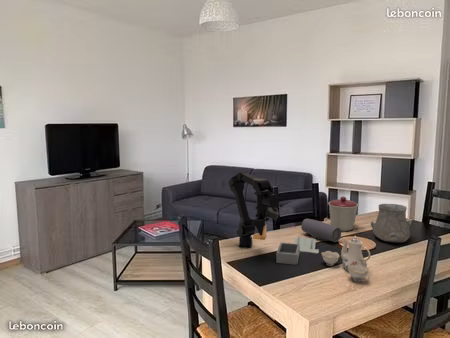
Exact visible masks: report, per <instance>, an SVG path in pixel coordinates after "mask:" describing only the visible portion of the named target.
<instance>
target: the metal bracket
mask: <svg viewBox="0 0 450 338" xmlns="http://www.w3.org/2000/svg"><path fill="white" fill-rule="evenodd" d="M316 239H317V238H314V237H311V238H308V237H306V235H305V237H300V236H297V237H295V239H294V244H300V253H312V254H319V252H320V251H319V250H320V249H319V248H317V249H316V243H317V242H316Z"/></svg>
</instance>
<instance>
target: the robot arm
mask: <svg viewBox="0 0 450 338" xmlns="http://www.w3.org/2000/svg"><path fill="white" fill-rule="evenodd" d="M246 183H247V184H248V185H250V186H252V188H253V190H254V191H255V192H254V193H253V194H254V195H255V197H256V200H255V201H256V203H255V205H256V206H255V211H256V212H255V213H256V214H255V217H254V218H251V217H250V215H249V212H248V207H247V202H246V199H245V198H246V197H245V195H244V194H245V193H244V189H245V188H246V187H245V184H246ZM228 187H229V189H230V191H231V192H232V193H233V194H234V197H235V201H236V205H237V211H238V214H239V218H240V219H239V223H238V229H237V230H236V235H237V236H238V237H239V238H238V239H239V240H238V241H239V245H238V248H246V249H251V248H252V245H253V236H254V234H255V233H256V232H255V231H256V230H257V232H258V234H260V236H262V234H263V228H264V226H265V225H266V226H267V222H268V221H270V219H272V220H274V221H277V219H278V218H279V214H280V212H279V210H278V208H277V207H278V206H279V204H280V199H279V198H278V197H277V195H276V194H275V193H274V189H273V188H272V185H271V183H270V181H269V179H266V178H259V177H256V176H254V175H252V174H250V173H248V172H247V171H240V172H237V174H235V175H234V176H232V177H231V178H230V179H229V180H228Z"/></svg>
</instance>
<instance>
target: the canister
mask: <svg viewBox="0 0 450 338" xmlns="http://www.w3.org/2000/svg"><path fill="white" fill-rule="evenodd" d="M327 204H328V206H329V207H328V208H329V219H330V225H333V226H336V227H338V228H340V230H341V232H349V231H352V230H353V228H354V227H355V223H356V218H357V217H356V215H357V210H358V206H359V204H358V203H357V202H356V201H354V200H348V199H347V197H345V196H341V197H340V198H339V199H332V200H330V201H328V203H327Z"/></svg>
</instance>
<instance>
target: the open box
mask: <svg viewBox="0 0 450 338" xmlns="http://www.w3.org/2000/svg"><path fill="white" fill-rule="evenodd" d="M300 253H301V252H300V244H295V243H290V242H280V243H279V246H278V247H277V251H276V255H275V256H276V261H275V262H276V263H277V264H285V265H287V264H288V265H294V266H295V265H296V266H297V265H298V263H299V258H300Z"/></svg>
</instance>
